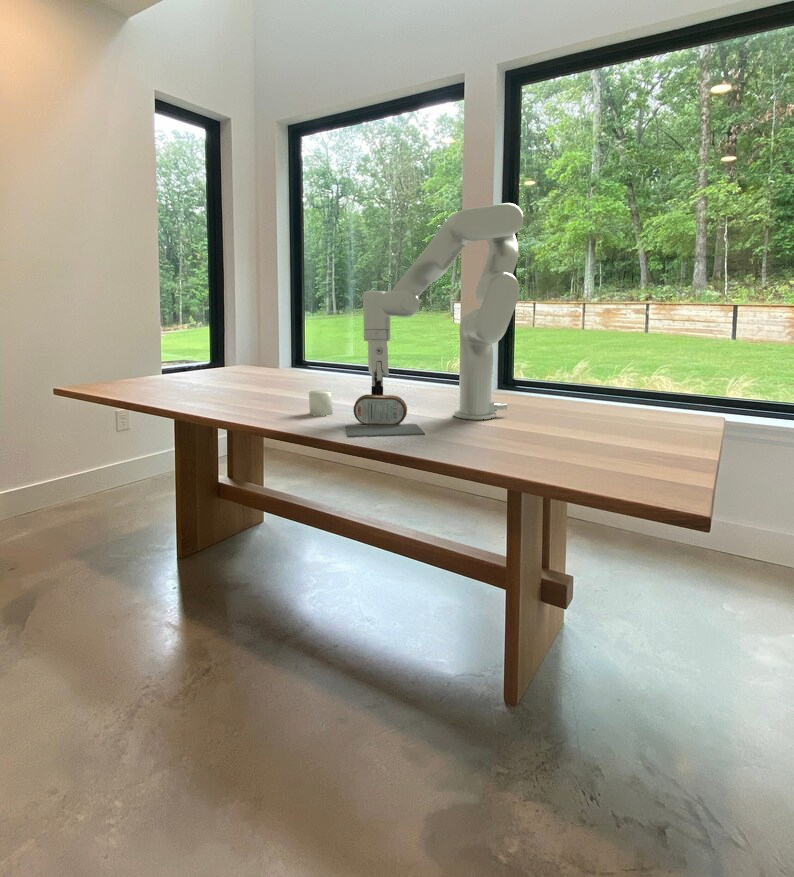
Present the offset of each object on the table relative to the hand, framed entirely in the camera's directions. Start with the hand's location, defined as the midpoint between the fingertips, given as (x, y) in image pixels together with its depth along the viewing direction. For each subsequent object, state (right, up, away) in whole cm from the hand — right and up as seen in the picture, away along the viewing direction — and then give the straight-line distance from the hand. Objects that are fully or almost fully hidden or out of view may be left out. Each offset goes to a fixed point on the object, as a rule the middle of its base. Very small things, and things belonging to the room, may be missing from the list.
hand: (377, 399), depth 171 cm
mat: (+2, -9, -13) cm, 16 cm away
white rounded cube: (-18, -4, +11) cm, 21 cm away
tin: (+1, -8, -4) cm, 9 cm away
